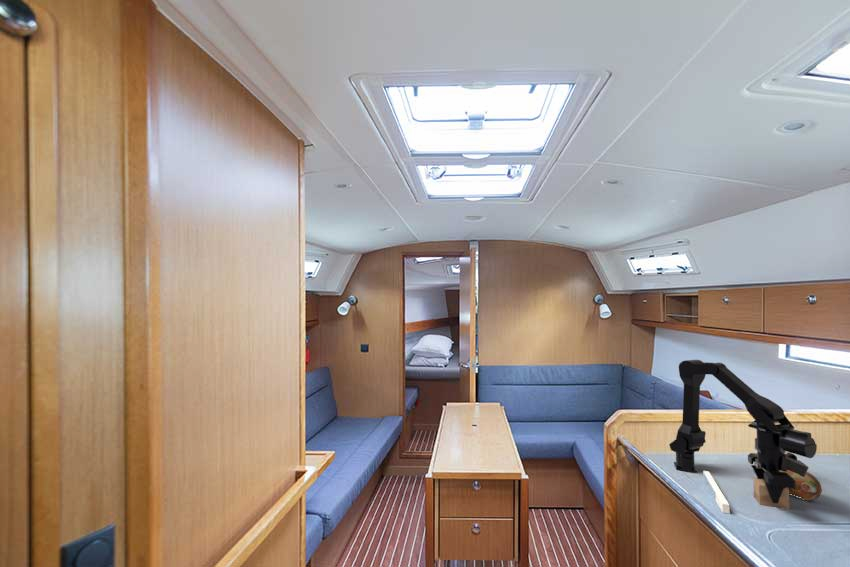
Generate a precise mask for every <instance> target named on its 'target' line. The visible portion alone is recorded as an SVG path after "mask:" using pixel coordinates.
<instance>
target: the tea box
mask: <svg viewBox="0 0 850 567" xmlns="http://www.w3.org/2000/svg"><path fill="white" fill-rule="evenodd" d="M752 480H753V498H754V499H755V501H756V502H757V503H758V505H759V506H764V507H770V508H775V507H776V508H777V509H781V508H783V510H789V511H790V495H789V489H788V488H787V487H786V488H784V489H783V491H782V493H781V496H780V499H779V501H778V503H777V504H776V503H773V502H772V500H771V497H770V495H769V493H768V491H767V488H766V486H765V484H764V481H763V479H758V478H757V477H753V478H752Z"/></svg>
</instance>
